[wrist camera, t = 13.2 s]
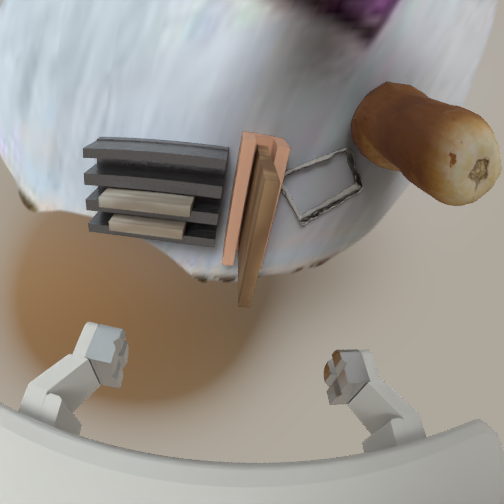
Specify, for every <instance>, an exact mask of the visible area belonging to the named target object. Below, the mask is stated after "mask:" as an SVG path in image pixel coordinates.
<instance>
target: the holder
mask: <svg viewBox="0 0 504 504" xmlns="http://www.w3.org/2000/svg"><path fill="white" fill-rule="evenodd" d="M257 144H258V145H264V146H268V149H269V152H270V154H271V157H272V160H273V162H274V165H275V168H276V171H277V174H278V176H279V179H280V182H281V183H280V188H279V192H278V196H277V200H276V204H275V208H274V213H273V217H272V221H271V225H270V229H269V233H268V237H267V241H266V245H265V250H264V254H263V258H262V262H261V266H260V269H261V268H262V264H263V260H264V256H265V252H266V248H267V244H268V240H269V236H270V232H271V227H272V223H273V219H274V215H275V211H276V207H277V203H278V199H279V195H280V190H281V186H282V182H283V178H284V174H285V170H286V165H287V161H288V157H289V153H290V149H291V148H290V147H289V145H288V144H287V142H286V141H285V139H284V138H280V137H274V136H269V135H263V134H257V133H251V132H245V131H243V132H242V137H241V143H240V148H239V154H238V160H237V166H236V171H235V177H234V183H233V189H232V195H231V201H230V208H229V214H228V220H227V227H226V233H225V240H224V249H223V262H222V265H230V266H233V263H234V257H235V252H236V250H238V242H239V237H240V231H241V226H242V220H243V215H244V210H245V205H246V199H247V194H248V189H249V184H250V178H251V173H252V168H253V163H254V158H255V153H256V148H257Z"/></svg>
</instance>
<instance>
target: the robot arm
mask: <svg viewBox="0 0 504 504" xmlns="http://www.w3.org/2000/svg"><path fill="white" fill-rule="evenodd" d="M125 337H126V334H125V330H124V329H119V328H114V327H110V326H105V325H101V324H97V323H92V322H87V323H86V325H85V326H84V329H83V331H82V333H81V335H80V338H79V340H78V342H77V345H76V347H75V350H74V352H73V355H72V354H69V355H67V356H66V357H64V358H63V359H61V360H60V361H59V362H57V363H56V364H55V365H53V366H52V367H51V368H49V369H48V370H46V371H45V372H44V373H42V374H41V375H40V376H38V377H37V378H36V379H34V380H33V381H31V382H30V383H29V384H28V387H27V389H26V392H25V394H24V397H23V400H22V402H21V405H20V408H19V411H16V410H14V409H12V408H10V407H8V406H6V405H4V404H2V403H0V504H504V450H503V447H502V443H501V441H500V438H499V436H498V434H497V433H496V432H495V431H494V430H493V429H492V428H491V427H490V426H489V425H488V424H487V423H485V422H484V421H482V420H480V419H476V420H473V421H471V422H468V423H465V424H463V425H460V426H458V427H455V428H452V429H450V430H447V431H444V432H441V433H438V434H436V435H432V436H429V437H426V435H425V431H424V428H423V425H422V422H421V419H420V416H419V413H418V412H417V411H416V410H415V409H414V408H413V407H412V406H411V405H409V404H408V403H407V402H406V401H405V400H404V399H403V398H402V397H401V396H400V395H399V394H398V393H397V392H395V391H394V390H393V389H392V388H391V387H390V386H389V385H388V384H387V383H386V382H385V381H381V379H380V376H379V373H378V370H377V367H376V364H375V361H374V359H373V356H372V353H371V352H370V350H357V349H356V350H336V351H334V353H333V354H332V358H333V359H331V360H329V361H328V362H327V363H326V365H325V368H324V380H325V383H326V384H327V385H328V386H329V388H328V390H327V394H328V399H329V403H330V405H333V404H334V405H336V404H348V406H349V407H350V409H351V410H352V411H353V412H354V414H355V415H356V416H357V417H358V419H359V420H360V421H361V422H362V423H363V425H364V426H365V427H366V428H367V430H368V431H369V432H370V433H371V436H370V437H368V438H367V439H365V440H364V441H363V443H362V444H363V449H364V453H362V454H356V455H349V456H344V457H336V458H329V459H320V460H310V461H299V462H281V463H232V462H231V463H230V462H214V461H213V462H212V461H201V460H192V459H183V458H175V457H168V456H162V455H156V454H150V453H145V452H140V451H135V450H130V449H125V448H122V447H118V446H114V445H110V444H106V443H102V442H99V441H95V440H92V439H88V438H85V437H82V436H79V434H80V430H81V423H80V421H79V420H78V419H77V418H76V417H75V415H74V414H73V412H74V411H75V410H76V409H77V408H78V407H79V406H80V405H81V404H82V403H83V402H84V401H85V400H86V399H87V398H88V397H89V396H90V395H91V394H92V393H93V392H94V391H95V390H96V389H97V388H98V387H99V386H100V384H102V385H106V386H111V387H116V388H120V386H121V383H122V379H123V375H124V374H123V371H122V368H123V367H124V366H125V365H126V364H127V360H128V352H129V349H128V343H127V341H126V340H125Z"/></svg>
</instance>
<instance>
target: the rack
mask: <svg viewBox="0 0 504 504" xmlns="http://www.w3.org/2000/svg"><path fill="white" fill-rule="evenodd" d="M228 149H229V147H222V146H215V145H207V144H198V143H189V142H179V141H168V140H155V139H140V138H120V137H100V138H98V139H97V140H96V141H95V142H93V143H91V144H90V145H88V146H86V147H84V148H83V158H97V164H95V165H94V166H93V167H92V168H90V169H89V170H88V171H86V172H85V173H84V184H85V185H96V186H98V188H97V189H96V190H95V191H94V192H93V193H92V194H91V195H90V196H89V197H88V198H87V199H86V208H87V210H92V211H98V212H97V214H96V215H95V216H94V217H93V218H92V220H91V221H90V222H89V223H88V226H89V231H90V232H99V233H106V234H114V235H122V236H130V237H137V238H145V239H153V240H160V241H168V242H176V243H184V244H191V245H199V246H207V247H214V245H215V237H216V230H217V222H218V215H219V208H220V201H221V194H222V188H223V181H224V174H225V168H226V162H227V155H228ZM108 187H120V188H131V189H142V190H152V191H161V192H170V193H179V194H188V195H196V199H195V202H194V205H193V208H192V211H191V214H190V217H182V216H174V215H166V214H157V213H149V212H140V211H131V210H122V209H113V208H103V207H99V196H100V195H101V194H102V193H103V192H104V191H105V190H106V189H107V188H108ZM115 213H120V214H129V215H137V216H146V217H155V218H163V219H171V220H179V221H187V225H186V229H185V232H184V235H183V238H182V240H181V239H173V238H165V237H157V236H150V235H142V234H134V233H126V232H118V231H110V230H109V220H110V219H111V218H112V216H113V215H114V214H115Z"/></svg>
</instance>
